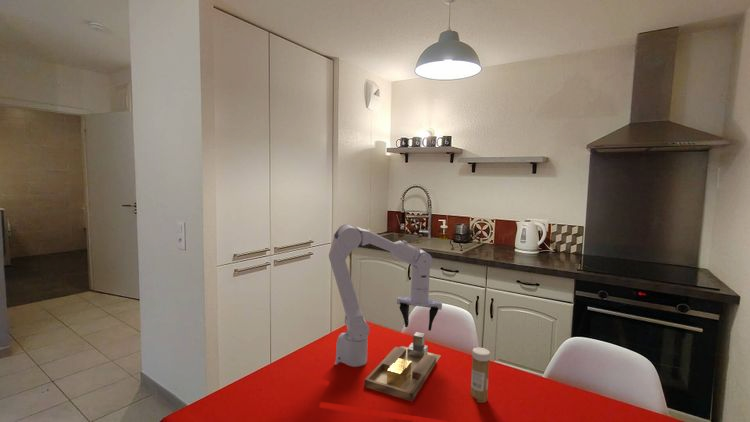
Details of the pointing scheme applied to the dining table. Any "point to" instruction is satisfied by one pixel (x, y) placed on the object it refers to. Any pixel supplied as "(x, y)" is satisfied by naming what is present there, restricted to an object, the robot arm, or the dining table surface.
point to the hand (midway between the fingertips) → (418, 327)
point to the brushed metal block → (417, 346)
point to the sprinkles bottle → (480, 374)
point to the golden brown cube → (396, 375)
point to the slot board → (412, 384)
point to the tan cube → (405, 364)
